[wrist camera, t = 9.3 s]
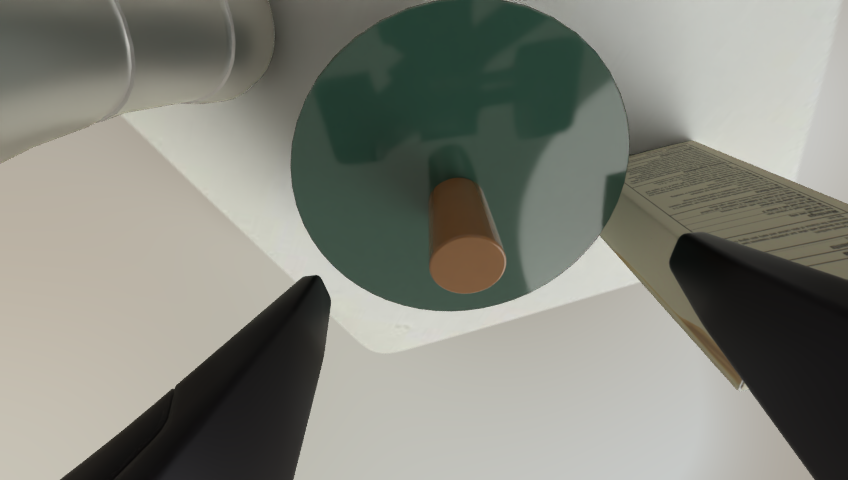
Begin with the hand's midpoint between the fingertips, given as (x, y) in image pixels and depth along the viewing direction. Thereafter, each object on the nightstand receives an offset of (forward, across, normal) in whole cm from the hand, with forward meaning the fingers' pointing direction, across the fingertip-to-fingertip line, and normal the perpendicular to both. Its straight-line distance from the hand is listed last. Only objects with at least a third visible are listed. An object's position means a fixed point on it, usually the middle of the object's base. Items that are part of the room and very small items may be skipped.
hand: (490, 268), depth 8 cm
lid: (+6, 0, +1) cm, 6 cm away
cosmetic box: (+12, -11, +5) cm, 18 cm away
